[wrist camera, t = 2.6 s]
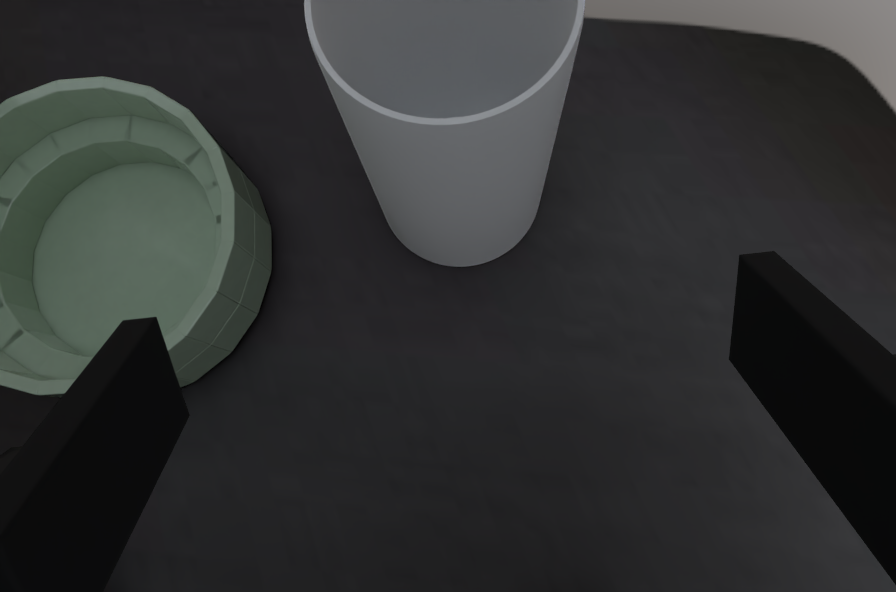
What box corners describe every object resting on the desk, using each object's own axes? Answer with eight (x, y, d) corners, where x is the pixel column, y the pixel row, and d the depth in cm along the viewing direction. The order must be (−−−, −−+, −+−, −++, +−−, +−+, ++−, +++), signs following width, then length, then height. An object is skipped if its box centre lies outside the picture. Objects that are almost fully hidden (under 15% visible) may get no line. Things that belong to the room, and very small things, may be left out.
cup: (362, 246, 35) (266, 92, 20) (404, 101, 37) (346, -150, 21) (520, 283, 34) (551, 154, 19) (556, 134, 36) (613, -101, 20)
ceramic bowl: (-51, 305, 36) (-155, 279, 30) (116, 88, 38) (49, 24, 32) (164, 457, 34) (97, 461, 28) (329, 219, 36) (298, 176, 30)
